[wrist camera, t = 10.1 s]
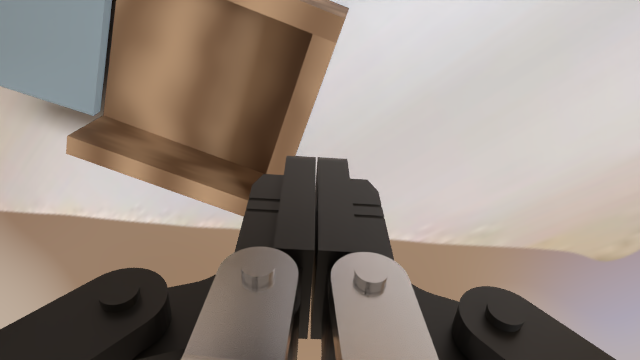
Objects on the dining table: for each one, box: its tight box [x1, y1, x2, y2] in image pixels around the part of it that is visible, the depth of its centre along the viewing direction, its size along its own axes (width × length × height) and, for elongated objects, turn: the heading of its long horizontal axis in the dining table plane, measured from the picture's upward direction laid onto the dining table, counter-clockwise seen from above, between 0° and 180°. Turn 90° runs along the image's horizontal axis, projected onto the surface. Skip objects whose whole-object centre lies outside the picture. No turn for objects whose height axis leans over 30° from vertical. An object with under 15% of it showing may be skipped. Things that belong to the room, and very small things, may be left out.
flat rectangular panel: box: [0, 0, 112, 116], centre depth 33 cm, size 2×13×10 cm
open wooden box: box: [66, 0, 349, 216], centre depth 33 cm, size 17×17×7 cm
